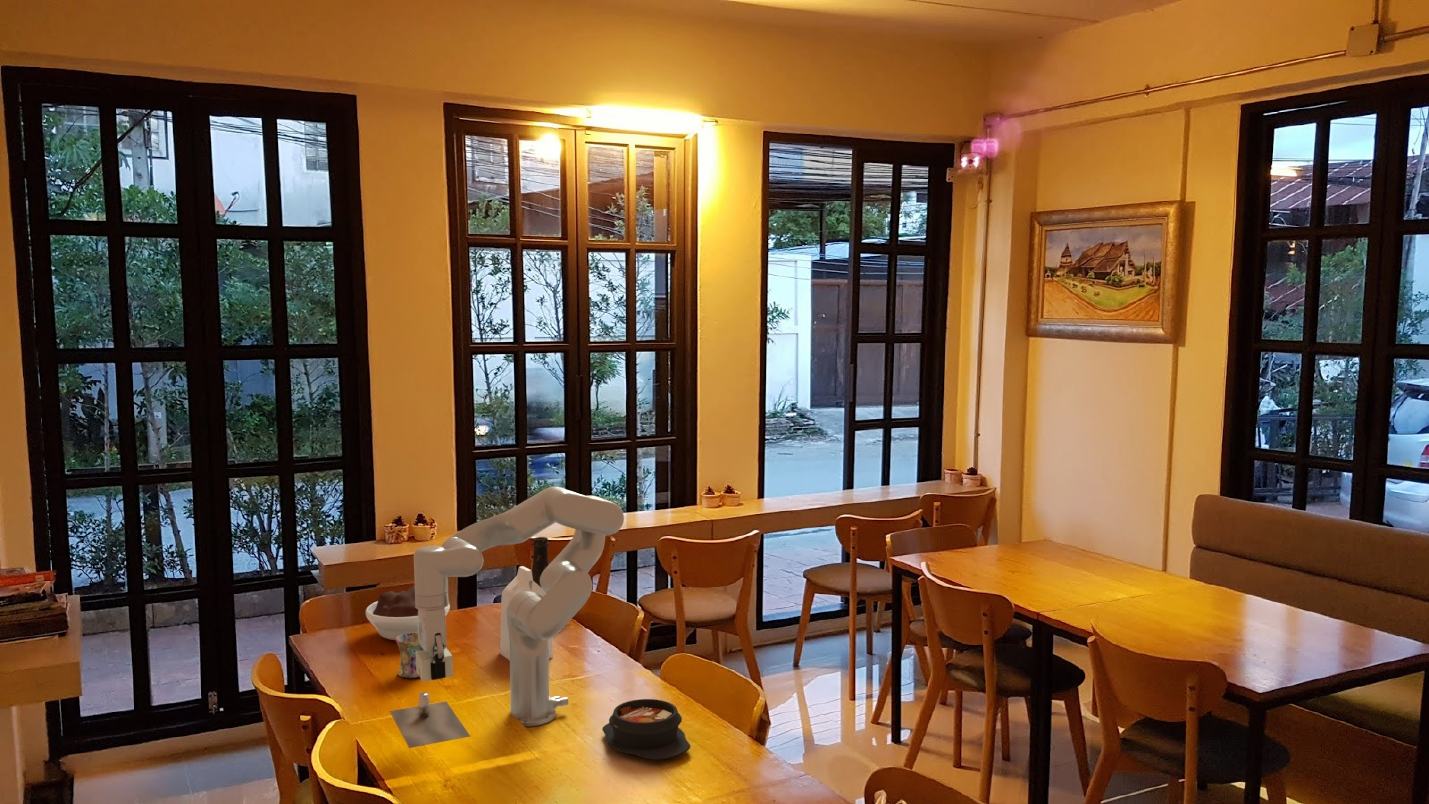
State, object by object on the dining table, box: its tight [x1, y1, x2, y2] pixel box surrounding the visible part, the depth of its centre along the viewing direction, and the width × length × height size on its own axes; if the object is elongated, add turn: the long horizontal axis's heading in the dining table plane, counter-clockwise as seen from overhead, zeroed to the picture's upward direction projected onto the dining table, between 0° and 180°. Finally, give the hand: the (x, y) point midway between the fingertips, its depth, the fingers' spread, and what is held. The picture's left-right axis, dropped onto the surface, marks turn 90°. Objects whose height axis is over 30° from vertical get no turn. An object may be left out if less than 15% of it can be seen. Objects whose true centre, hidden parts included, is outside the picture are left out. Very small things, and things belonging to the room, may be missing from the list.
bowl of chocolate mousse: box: [365, 585, 451, 641], centre depth 319 cm, size 25×25×15 cm
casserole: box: [601, 698, 691, 761], centre depth 240 cm, size 25×19×8 cm
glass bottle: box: [530, 536, 550, 588], centre depth 332 cm, size 18×18×28 cm
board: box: [389, 701, 471, 749], centre depth 248 cm, size 14×24×2 cm, turn 28°
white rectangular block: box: [416, 647, 454, 682], centre depth 242 cm, size 7×7×5 cm
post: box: [418, 691, 430, 718], centre depth 253 cm, size 2×4×6 cm, turn 28°
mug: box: [395, 632, 423, 679], centre depth 286 cm, size 12×9×11 cm
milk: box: [499, 565, 554, 661], centre depth 301 cm, size 12×12×26 cm
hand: (434, 672), depth 242 cm, fingers closed on white rectangular block, 7 cm apart
